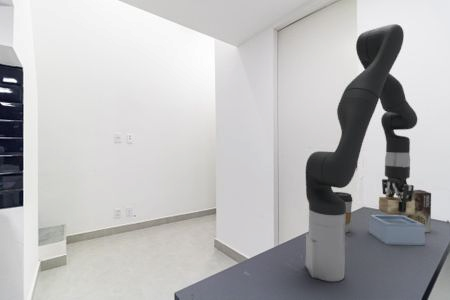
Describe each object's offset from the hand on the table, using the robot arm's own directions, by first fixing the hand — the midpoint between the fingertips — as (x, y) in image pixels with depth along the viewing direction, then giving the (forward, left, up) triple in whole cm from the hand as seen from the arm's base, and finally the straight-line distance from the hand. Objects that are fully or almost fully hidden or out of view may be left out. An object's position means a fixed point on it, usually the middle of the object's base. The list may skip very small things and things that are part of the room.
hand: (395, 209), depth 88 cm
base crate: (0, 0, -11) cm, 11 cm away
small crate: (0, 0, -1) cm, 1 cm away
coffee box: (+14, +10, -11) cm, 20 cm away
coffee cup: (-17, +7, -11) cm, 22 cm away
